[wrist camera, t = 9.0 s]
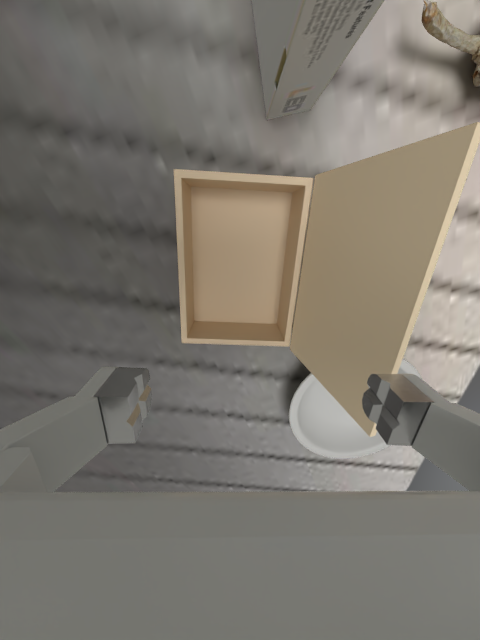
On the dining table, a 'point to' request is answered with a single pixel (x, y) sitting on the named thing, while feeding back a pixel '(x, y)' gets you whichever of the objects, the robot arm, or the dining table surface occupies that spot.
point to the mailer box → (239, 255)
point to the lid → (374, 260)
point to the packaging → (304, 47)
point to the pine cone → (451, 35)
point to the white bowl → (331, 422)
